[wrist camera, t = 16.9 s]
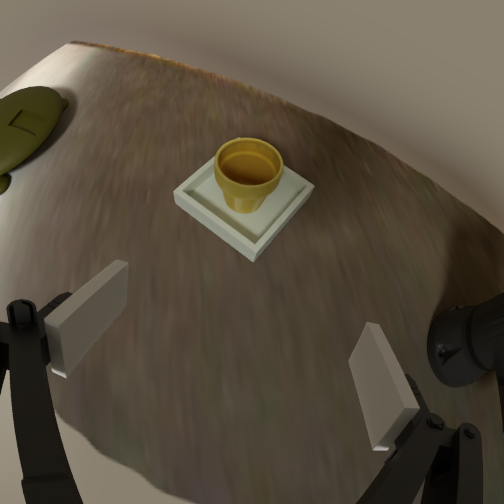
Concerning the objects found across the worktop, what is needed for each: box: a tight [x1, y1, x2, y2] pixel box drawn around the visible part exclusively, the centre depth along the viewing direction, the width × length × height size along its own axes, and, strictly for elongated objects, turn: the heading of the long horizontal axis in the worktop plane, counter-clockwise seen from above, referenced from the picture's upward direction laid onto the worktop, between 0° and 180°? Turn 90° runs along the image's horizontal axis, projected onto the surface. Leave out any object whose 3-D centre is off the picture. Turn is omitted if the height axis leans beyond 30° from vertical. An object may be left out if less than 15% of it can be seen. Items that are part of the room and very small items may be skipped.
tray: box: [174, 137, 314, 262], centre depth 54 cm, size 17×17×4 cm
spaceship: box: [0, 86, 68, 195], centre depth 52 cm, size 35×31×10 cm
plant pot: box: [214, 138, 283, 214], centre depth 50 cm, size 10×10×10 cm
